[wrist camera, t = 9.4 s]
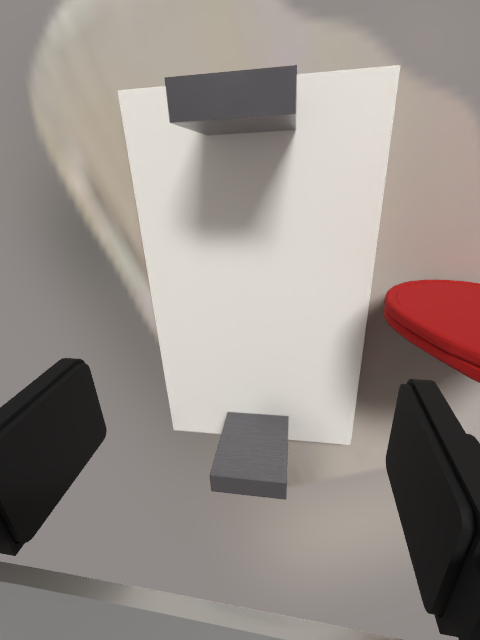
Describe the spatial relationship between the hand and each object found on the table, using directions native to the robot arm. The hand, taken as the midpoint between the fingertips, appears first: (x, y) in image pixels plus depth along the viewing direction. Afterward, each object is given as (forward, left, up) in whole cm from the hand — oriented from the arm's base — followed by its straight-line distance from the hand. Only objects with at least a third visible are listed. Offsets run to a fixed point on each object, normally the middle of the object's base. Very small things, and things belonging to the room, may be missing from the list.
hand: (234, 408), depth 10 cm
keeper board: (0, 0, -10) cm, 10 cm away
